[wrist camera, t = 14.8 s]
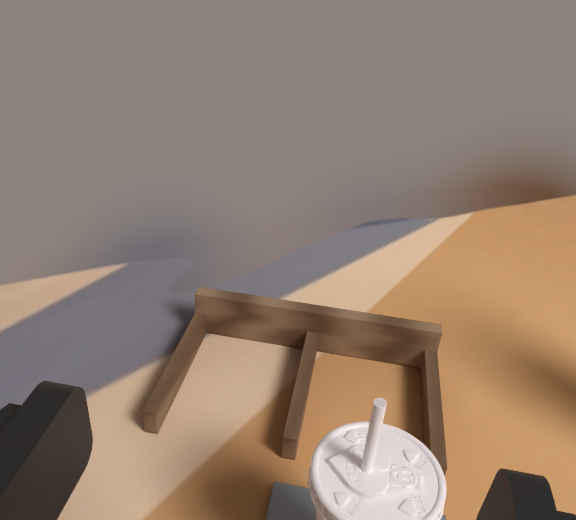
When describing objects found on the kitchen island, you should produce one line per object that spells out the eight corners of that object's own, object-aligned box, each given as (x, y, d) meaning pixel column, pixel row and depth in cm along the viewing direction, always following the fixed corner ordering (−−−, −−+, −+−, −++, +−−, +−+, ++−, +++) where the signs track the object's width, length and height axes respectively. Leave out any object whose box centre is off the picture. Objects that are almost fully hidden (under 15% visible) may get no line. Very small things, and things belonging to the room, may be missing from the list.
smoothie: (307, 520, 34) (330, 344, 27) (413, 546, 33) (467, 370, 26) (283, 630, 29) (304, 447, 21) (408, 666, 28) (475, 486, 20)
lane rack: (144, 431, 40) (140, 390, 38) (199, 322, 51) (199, 286, 49) (440, 487, 37) (454, 447, 35) (431, 360, 48) (441, 324, 46)
